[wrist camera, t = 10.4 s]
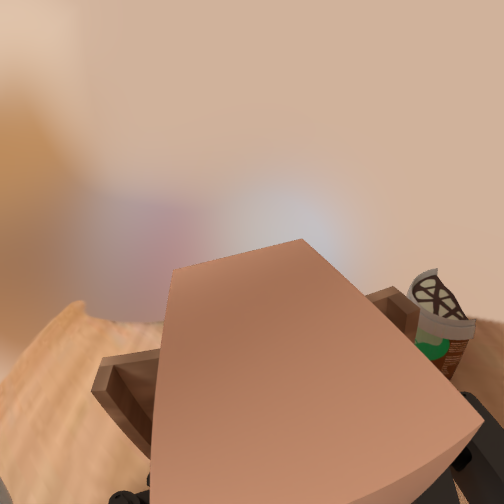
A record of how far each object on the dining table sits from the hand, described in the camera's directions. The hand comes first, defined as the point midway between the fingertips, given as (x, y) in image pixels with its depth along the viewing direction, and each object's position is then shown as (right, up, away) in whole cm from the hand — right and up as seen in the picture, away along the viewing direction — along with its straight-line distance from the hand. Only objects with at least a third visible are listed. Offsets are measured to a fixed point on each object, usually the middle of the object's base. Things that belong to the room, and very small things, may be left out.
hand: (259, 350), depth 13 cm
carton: (+2, -8, -2) cm, 8 cm away
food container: (+21, -9, +17) cm, 28 cm away
